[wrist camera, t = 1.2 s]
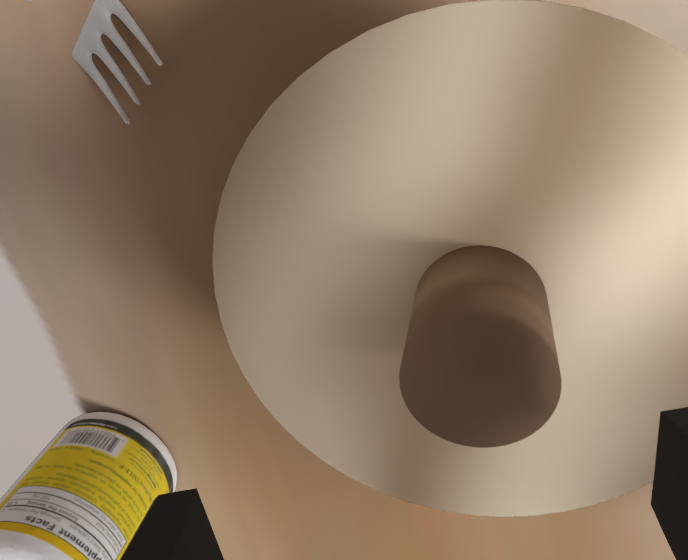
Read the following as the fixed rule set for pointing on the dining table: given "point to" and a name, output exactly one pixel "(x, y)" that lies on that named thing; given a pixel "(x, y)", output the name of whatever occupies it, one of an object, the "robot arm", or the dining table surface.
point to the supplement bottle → (86, 491)
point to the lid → (469, 256)
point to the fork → (92, 43)
